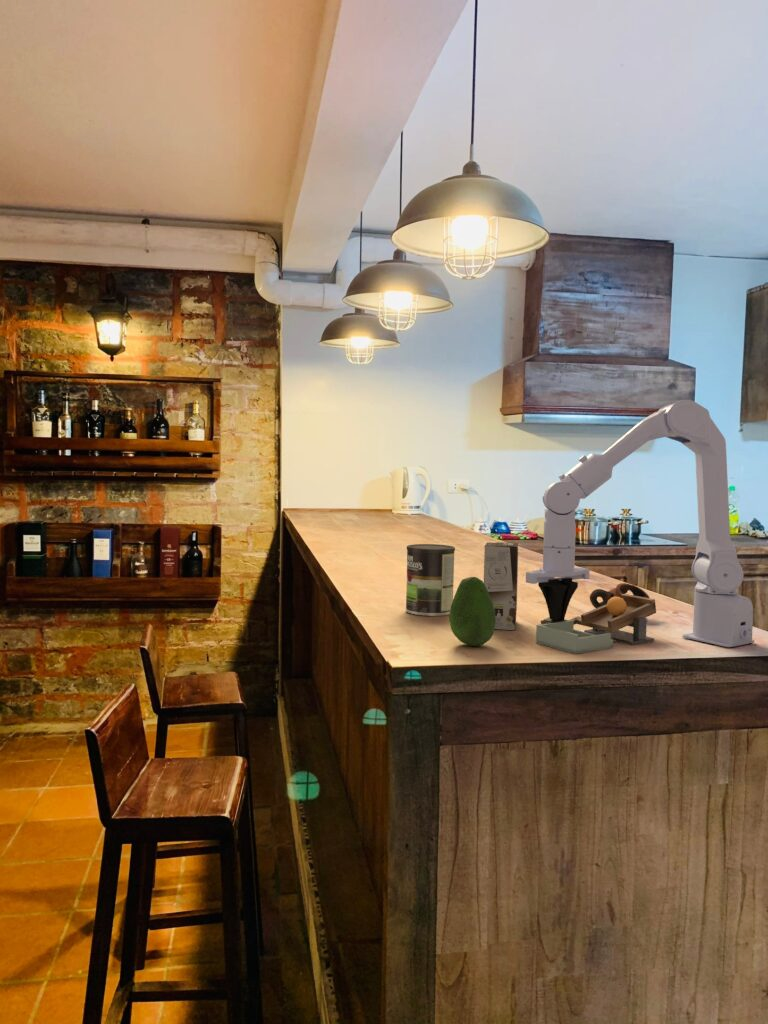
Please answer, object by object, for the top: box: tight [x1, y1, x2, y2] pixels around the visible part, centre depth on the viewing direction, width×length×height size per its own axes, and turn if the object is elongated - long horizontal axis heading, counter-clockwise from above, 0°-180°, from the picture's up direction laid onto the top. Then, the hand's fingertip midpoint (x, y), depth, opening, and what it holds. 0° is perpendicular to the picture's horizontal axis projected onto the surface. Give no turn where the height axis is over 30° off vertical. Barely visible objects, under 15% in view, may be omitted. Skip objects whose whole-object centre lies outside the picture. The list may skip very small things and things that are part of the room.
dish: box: [535, 619, 614, 655], centre depth 131 cm, size 9×9×3 cm
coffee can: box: [405, 543, 456, 617], centre depth 160 cm, size 10×10×14 cm
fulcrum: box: [583, 608, 655, 646], centre depth 138 cm, size 11×6×4 cm, turn 32°
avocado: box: [448, 576, 496, 647], centre depth 129 cm, size 8×8×12 cm
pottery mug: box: [589, 582, 650, 609], centre depth 156 cm, size 12×10×8 cm
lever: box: [540, 593, 657, 632], centre depth 139 cm, size 14×16×4 cm
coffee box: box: [483, 541, 519, 631], centre depth 147 cm, size 9×6×16 cm
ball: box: [607, 597, 627, 616], centre depth 137 cm, size 4×4×4 cm
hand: (556, 619), depth 139 cm, fingers closed
